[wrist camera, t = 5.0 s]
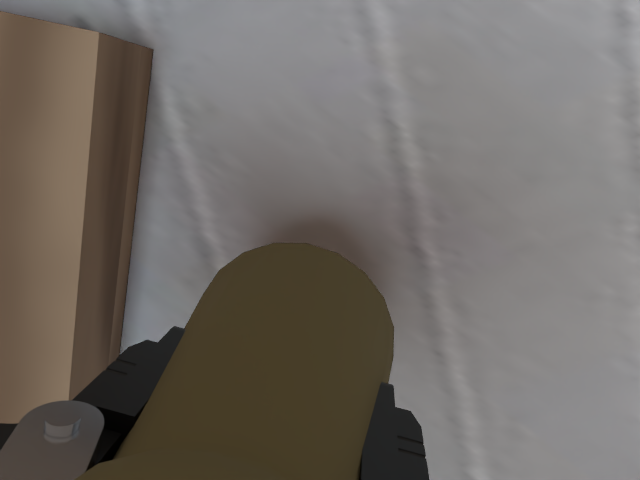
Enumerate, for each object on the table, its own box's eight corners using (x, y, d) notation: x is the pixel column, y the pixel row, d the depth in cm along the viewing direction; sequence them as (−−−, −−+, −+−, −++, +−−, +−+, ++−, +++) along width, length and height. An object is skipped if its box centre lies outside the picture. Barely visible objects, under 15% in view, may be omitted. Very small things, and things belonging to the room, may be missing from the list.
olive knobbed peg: (429, 383, 15) (581, 1102, 4) (256, 454, 16) (15, 1147, 5) (335, 205, 14) (198, 520, 3) (159, 295, 15) (-389, 745, 4)
